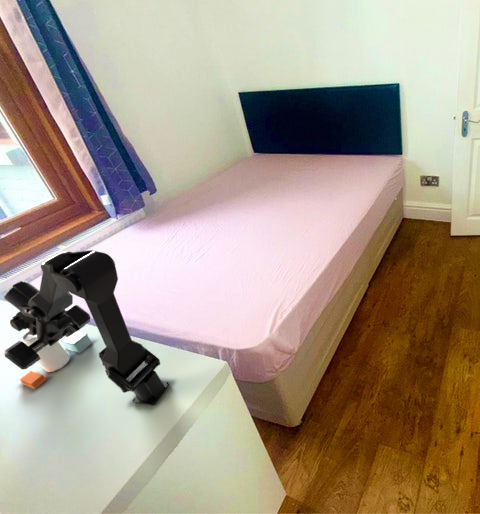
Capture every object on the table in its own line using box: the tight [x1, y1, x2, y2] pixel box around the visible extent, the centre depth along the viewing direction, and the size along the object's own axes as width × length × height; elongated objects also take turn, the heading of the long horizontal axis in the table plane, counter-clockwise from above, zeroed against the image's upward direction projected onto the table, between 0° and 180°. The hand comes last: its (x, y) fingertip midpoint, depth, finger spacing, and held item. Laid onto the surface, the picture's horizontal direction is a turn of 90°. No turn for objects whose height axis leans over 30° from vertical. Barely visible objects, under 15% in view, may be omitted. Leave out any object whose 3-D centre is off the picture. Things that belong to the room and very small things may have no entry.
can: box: [21, 331, 71, 373], centre depth 101 cm, size 6×6×12 cm
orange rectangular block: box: [19, 370, 48, 390], centre depth 98 cm, size 6×3×2 cm, turn 67°
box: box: [60, 331, 93, 354], centre depth 108 cm, size 6×4×4 cm
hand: (50, 347), depth 98 cm, fingers open, 9 cm apart
